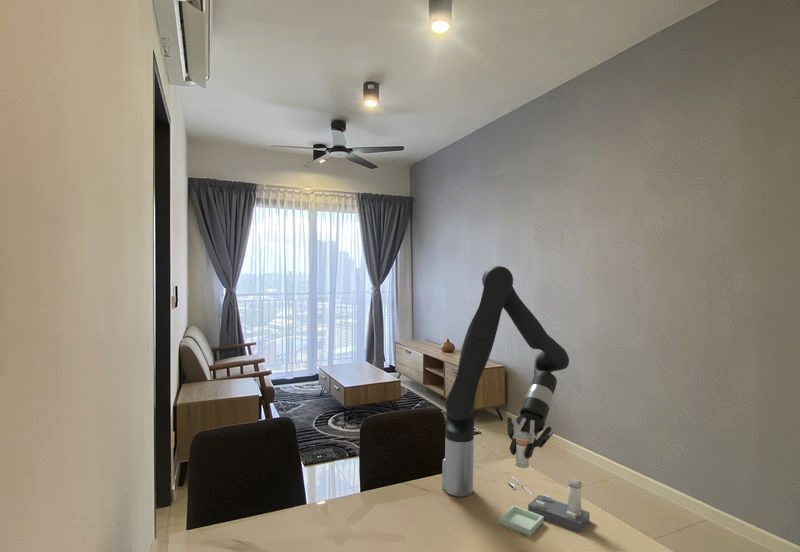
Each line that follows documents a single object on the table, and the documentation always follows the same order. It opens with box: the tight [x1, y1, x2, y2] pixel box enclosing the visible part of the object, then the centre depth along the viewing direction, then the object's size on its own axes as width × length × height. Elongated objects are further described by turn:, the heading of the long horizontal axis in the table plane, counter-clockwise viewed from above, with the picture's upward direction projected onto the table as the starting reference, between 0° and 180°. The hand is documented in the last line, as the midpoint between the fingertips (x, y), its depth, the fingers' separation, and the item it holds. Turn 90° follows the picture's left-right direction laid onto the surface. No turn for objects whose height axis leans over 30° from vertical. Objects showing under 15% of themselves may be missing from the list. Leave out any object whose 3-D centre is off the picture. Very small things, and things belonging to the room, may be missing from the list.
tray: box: [498, 504, 545, 538], centre depth 121 cm, size 9×9×2 cm
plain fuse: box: [567, 478, 582, 517], centre depth 122 cm, size 4×4×9 cm
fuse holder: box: [527, 493, 590, 534], centre depth 125 cm, size 15×8×4 cm, turn 50°
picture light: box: [507, 476, 533, 497], centre depth 144 cm, size 14×4×2 cm, turn 13°
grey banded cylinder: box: [515, 431, 530, 469], centre depth 122 cm, size 4×4×9 cm
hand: (519, 455), depth 120 cm, fingers closed on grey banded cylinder, 3 cm apart
